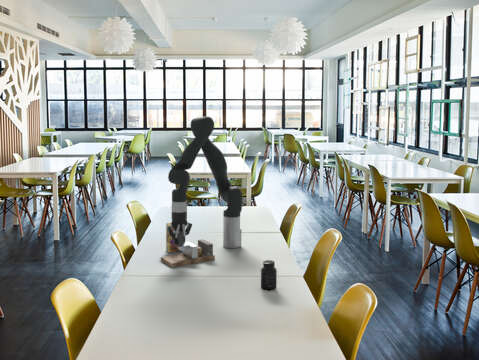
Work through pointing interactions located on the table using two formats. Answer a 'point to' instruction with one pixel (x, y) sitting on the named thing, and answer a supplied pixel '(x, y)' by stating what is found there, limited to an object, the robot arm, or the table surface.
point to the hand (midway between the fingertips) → (179, 244)
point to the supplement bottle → (268, 276)
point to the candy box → (170, 241)
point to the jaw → (187, 246)
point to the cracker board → (185, 260)
